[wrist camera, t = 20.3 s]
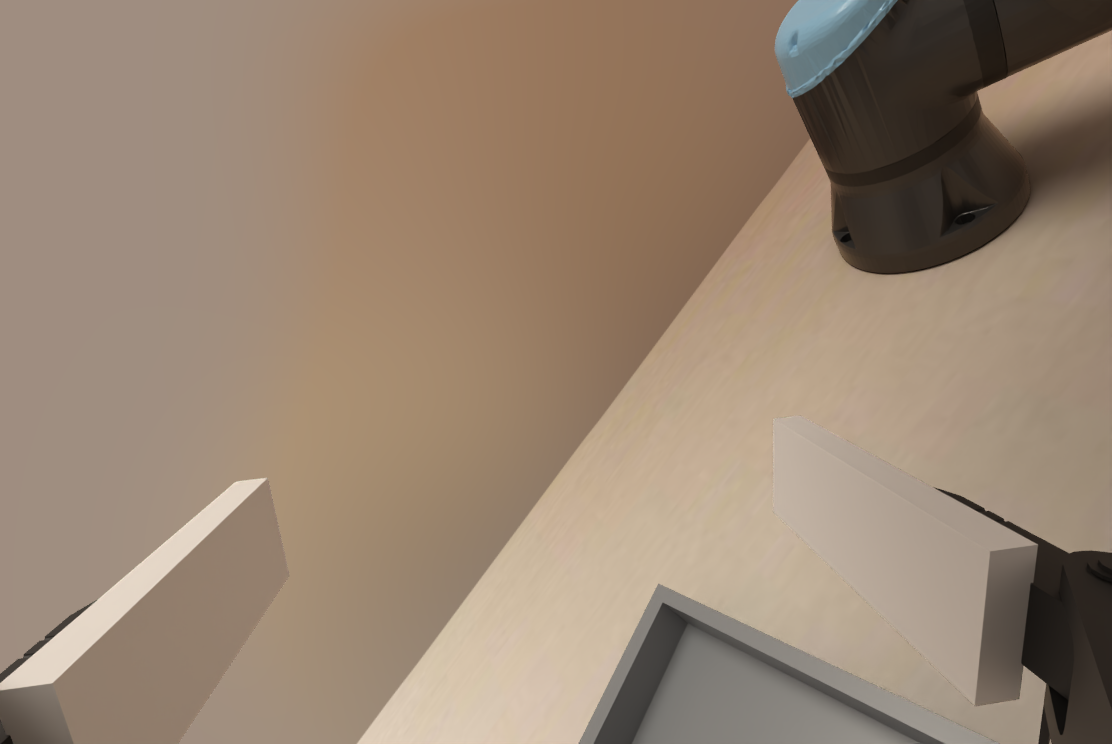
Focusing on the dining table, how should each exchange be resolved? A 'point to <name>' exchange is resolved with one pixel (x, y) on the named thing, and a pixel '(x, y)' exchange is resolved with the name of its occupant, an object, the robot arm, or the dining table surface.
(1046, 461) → the dining table surface
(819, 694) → the tray
